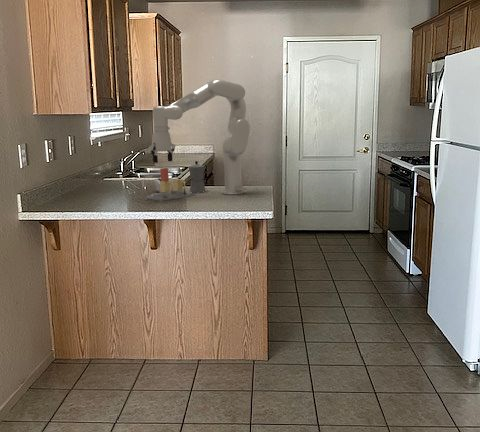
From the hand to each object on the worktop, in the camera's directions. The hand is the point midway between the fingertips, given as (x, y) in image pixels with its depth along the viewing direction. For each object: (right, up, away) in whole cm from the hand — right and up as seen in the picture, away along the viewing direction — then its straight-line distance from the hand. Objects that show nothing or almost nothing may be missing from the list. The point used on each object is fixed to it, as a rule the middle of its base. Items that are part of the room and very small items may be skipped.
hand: (162, 161), depth 294 cm
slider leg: (+1, -17, +10) cm, 20 cm away
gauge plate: (+3, -18, +11) cm, 22 cm away
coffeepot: (+17, -15, +28) cm, 36 cm away
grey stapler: (-4, -16, +28) cm, 32 cm away
